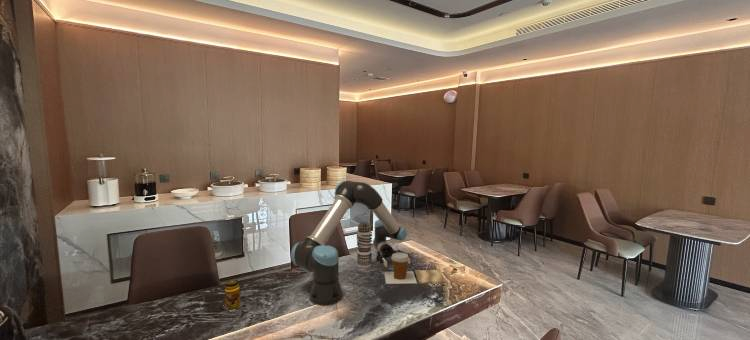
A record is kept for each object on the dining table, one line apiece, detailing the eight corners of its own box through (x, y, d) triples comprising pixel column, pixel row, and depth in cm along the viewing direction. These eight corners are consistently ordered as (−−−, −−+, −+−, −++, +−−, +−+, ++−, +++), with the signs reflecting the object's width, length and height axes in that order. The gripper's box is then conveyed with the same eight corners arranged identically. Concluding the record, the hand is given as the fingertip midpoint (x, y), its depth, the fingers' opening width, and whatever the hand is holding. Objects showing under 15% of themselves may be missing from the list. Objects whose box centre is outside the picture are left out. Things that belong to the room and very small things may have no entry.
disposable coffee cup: (388, 274, 172) (388, 253, 171) (404, 272, 175) (404, 251, 173) (394, 282, 163) (395, 259, 162) (411, 279, 166) (412, 257, 164)
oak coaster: (418, 283, 162) (418, 281, 162) (414, 271, 176) (414, 270, 176) (445, 282, 163) (445, 281, 163) (439, 271, 177) (439, 269, 176)
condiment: (231, 313, 135) (229, 286, 134) (218, 308, 139) (217, 282, 138) (245, 305, 142) (244, 280, 140) (233, 300, 146) (232, 275, 144)
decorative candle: (375, 263, 188) (375, 222, 185) (366, 269, 180) (366, 226, 177) (362, 260, 192) (362, 220, 190) (353, 265, 185) (353, 224, 182)
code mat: (386, 284, 162) (386, 283, 162) (384, 272, 176) (384, 271, 176) (417, 283, 162) (417, 282, 162) (412, 271, 176) (412, 271, 176)
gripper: (404, 253, 197) (418, 266, 177) (365, 258, 190) (376, 272, 169) (404, 241, 196) (419, 253, 176) (365, 245, 189) (376, 259, 169)
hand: (398, 263), depth 173 cm, fingers open, 13 cm apart
